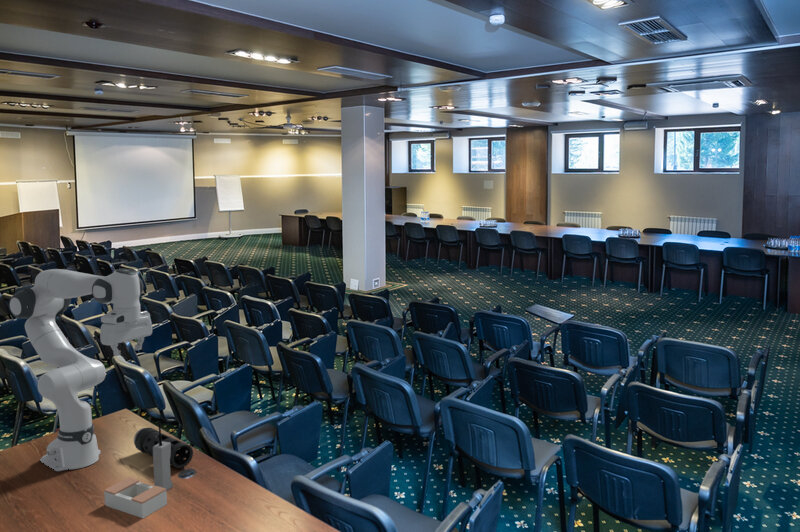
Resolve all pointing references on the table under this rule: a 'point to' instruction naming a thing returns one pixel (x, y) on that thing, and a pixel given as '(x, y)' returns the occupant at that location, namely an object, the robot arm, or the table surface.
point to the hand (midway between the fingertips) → (127, 352)
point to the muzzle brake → (150, 438)
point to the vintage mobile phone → (162, 463)
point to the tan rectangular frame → (135, 497)
